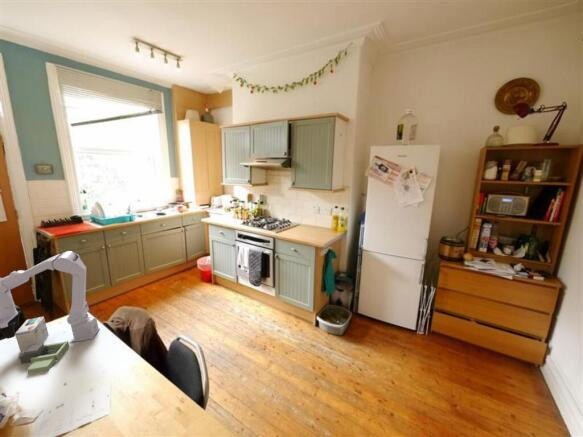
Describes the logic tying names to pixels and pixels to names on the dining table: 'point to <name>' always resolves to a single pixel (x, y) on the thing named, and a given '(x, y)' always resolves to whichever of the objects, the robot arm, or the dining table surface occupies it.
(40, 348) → the chute block
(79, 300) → the robot arm
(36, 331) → the light bulb box
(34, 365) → the green tray
